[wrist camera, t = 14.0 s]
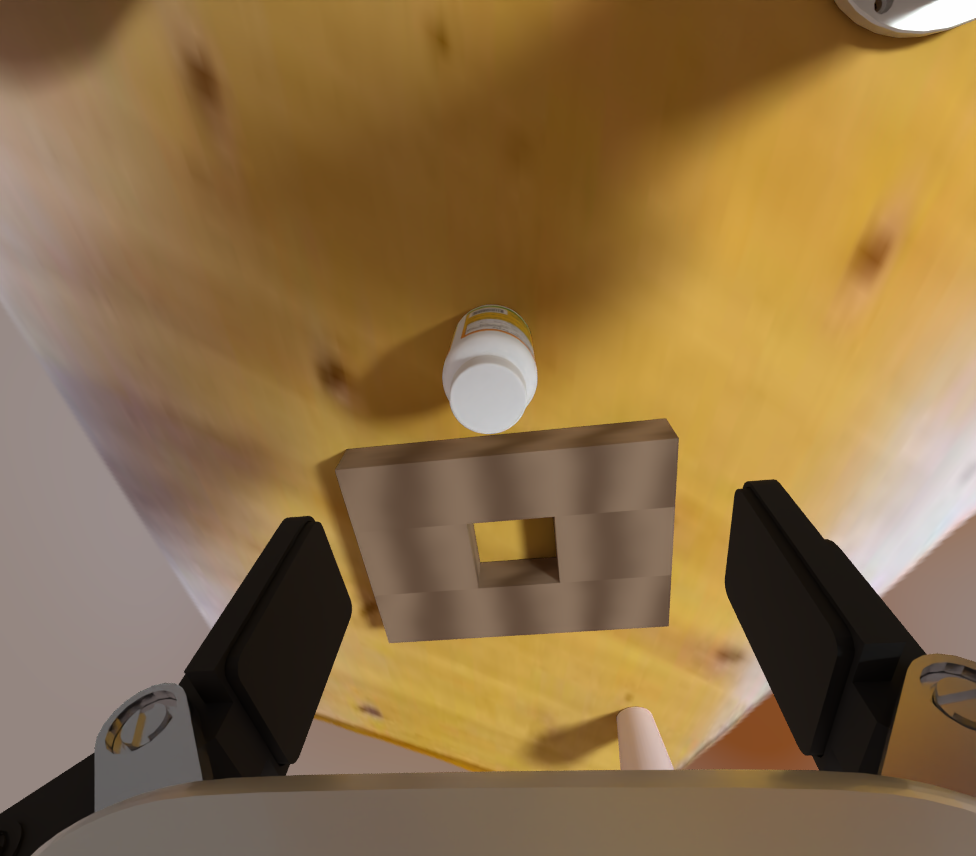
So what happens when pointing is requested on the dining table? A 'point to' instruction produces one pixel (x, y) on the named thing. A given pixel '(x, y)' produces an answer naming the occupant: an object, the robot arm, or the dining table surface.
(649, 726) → the smoothie
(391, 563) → the pocket board
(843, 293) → the dining table surface
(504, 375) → the supplement bottle
